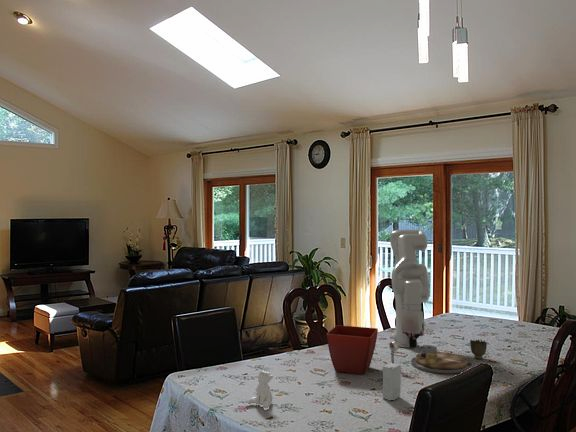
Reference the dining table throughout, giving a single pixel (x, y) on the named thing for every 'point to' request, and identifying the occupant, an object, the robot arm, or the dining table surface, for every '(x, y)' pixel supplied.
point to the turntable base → (439, 371)
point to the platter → (442, 360)
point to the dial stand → (393, 347)
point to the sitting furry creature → (262, 390)
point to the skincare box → (391, 381)
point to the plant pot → (351, 348)
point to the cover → (428, 350)
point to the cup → (478, 348)
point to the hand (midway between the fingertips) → (412, 347)
